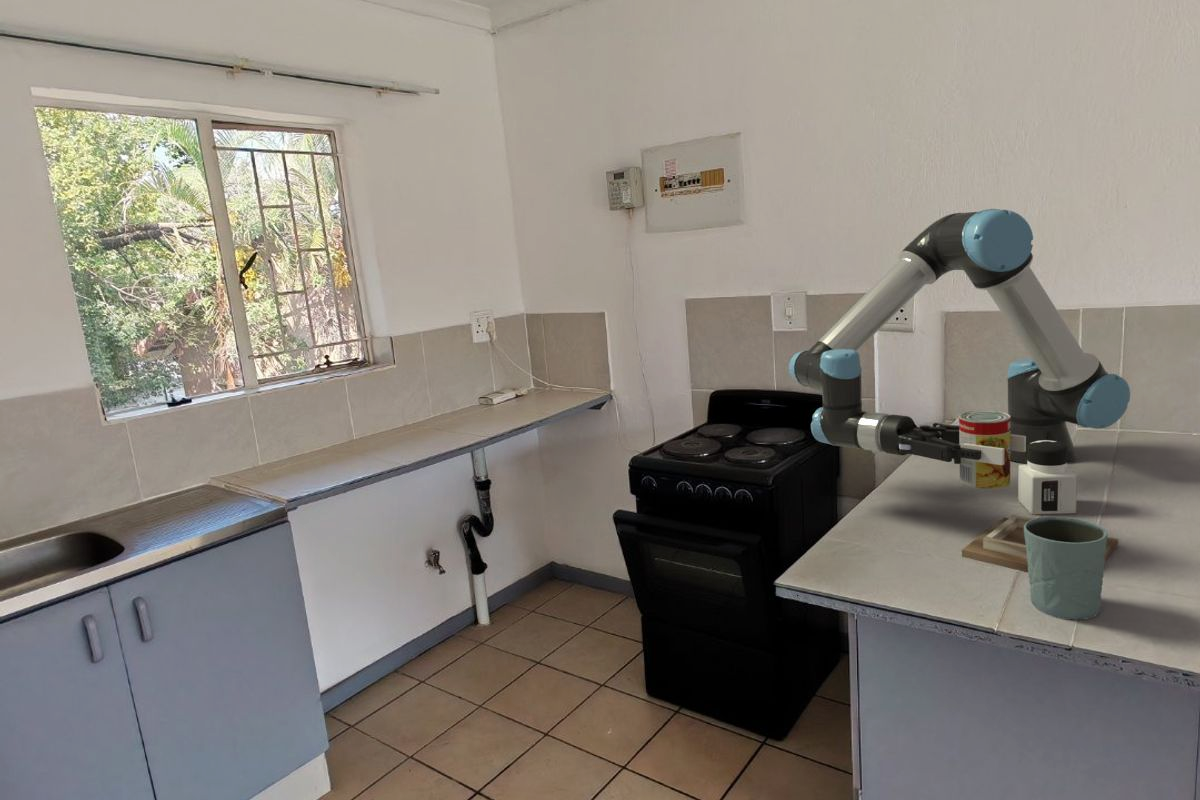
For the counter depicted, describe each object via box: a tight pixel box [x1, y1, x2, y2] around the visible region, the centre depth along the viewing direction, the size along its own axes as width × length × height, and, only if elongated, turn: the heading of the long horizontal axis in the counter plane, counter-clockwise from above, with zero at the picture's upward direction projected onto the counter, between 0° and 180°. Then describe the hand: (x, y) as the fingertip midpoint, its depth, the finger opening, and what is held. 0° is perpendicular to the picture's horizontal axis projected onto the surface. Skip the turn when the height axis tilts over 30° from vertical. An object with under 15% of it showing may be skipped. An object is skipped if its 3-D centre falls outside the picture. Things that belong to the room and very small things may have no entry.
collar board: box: [961, 514, 1119, 573], centre depth 125 cm, size 18×18×3 cm
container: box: [1017, 440, 1078, 515], centre depth 141 cm, size 8×8×13 cm
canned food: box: [958, 410, 1011, 491], centre depth 127 cm, size 8×8×12 cm
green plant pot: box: [1024, 516, 1108, 620], centre depth 107 cm, size 10×10×12 cm
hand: (1014, 450), depth 123 cm, fingers closed on canned food, 8 cm apart
